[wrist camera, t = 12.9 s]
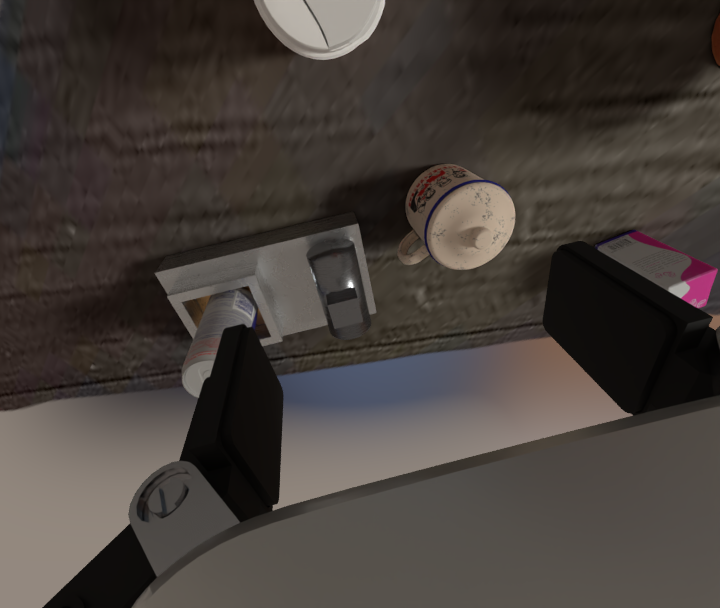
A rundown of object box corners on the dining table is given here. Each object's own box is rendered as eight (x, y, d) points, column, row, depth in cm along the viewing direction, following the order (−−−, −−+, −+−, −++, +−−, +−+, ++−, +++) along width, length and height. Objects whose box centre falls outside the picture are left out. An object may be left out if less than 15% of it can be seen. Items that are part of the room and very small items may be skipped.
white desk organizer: (211, 334, 46) (190, 398, 37) (166, 256, 39) (127, 310, 30) (370, 295, 46) (388, 349, 37) (353, 211, 40) (369, 251, 31)
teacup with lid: (454, 142, 37) (508, 165, 28) (489, 205, 42) (546, 244, 32) (367, 213, 40) (389, 257, 30) (409, 265, 45) (440, 317, 35)
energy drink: (223, 328, 41) (199, 409, 31) (199, 292, 38) (165, 369, 28) (266, 315, 41) (256, 392, 31) (246, 278, 38) (228, 350, 28)
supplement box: (592, 278, 51) (659, 324, 41) (594, 244, 47) (667, 286, 38) (631, 263, 50) (708, 307, 41) (635, 228, 47) (720, 266, 37)
